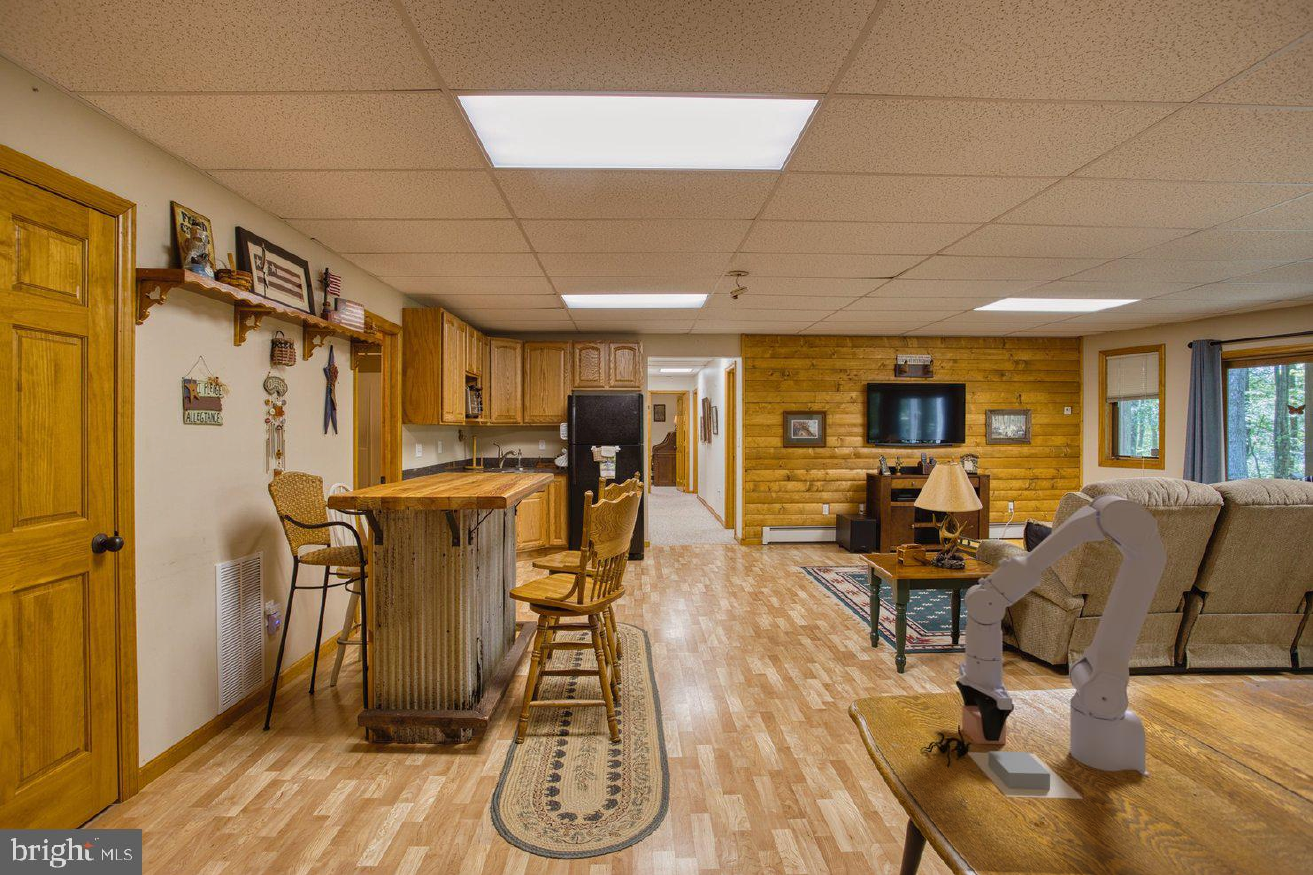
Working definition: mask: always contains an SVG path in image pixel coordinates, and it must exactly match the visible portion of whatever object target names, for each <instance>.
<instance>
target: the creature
mask: <svg viewBox="0 0 1313 875" xmlns="http://www.w3.org/2000/svg"><path fill="white" fill-rule="evenodd" d="M957 732H958V734H959V736H960V739H959V738H957V737H949V738H948V737H947V738H945V734H944V733H942V732H936V734H937V736H938V738H939V741H936V742H935V741H932V742H930V743H929V744H928V747H927V746H924V747H922V748H921V749H920V750H919V752H921V755H922V754H924V752H928V753H930V754H932V751H933V749H934V747H937V748H938V750H939V752H940V754H943V755H945V754H946V755H947V759H948V762H947V765H946V768H949V767H950V765H951V758H950V752H954V751H956V753H957V758H956V761H959V758H963V757H964V756H965V755H968V752H969V748H970V745H973V743H971V742H968V743H965V740H964V736H963V735H962V732H961V725H958V726H957ZM940 737H941V738H940ZM944 741H945V743H944V744H942V743H943V742H944ZM952 742H956V745H955V747H953V749H952V750H951V745H950V744H951V743H952ZM939 745H940V746H939Z"/></svg>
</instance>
